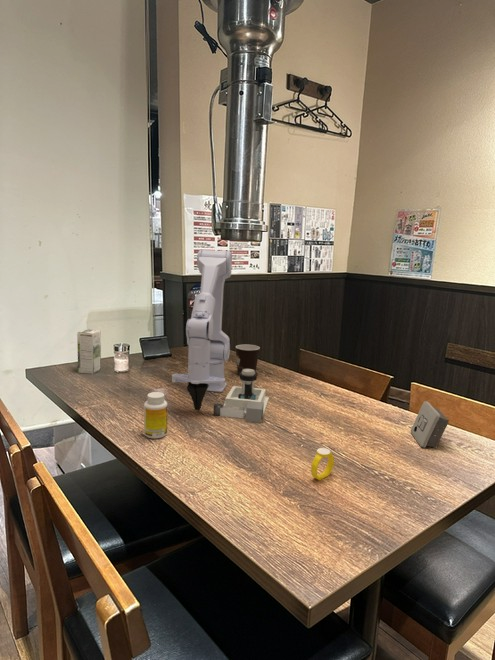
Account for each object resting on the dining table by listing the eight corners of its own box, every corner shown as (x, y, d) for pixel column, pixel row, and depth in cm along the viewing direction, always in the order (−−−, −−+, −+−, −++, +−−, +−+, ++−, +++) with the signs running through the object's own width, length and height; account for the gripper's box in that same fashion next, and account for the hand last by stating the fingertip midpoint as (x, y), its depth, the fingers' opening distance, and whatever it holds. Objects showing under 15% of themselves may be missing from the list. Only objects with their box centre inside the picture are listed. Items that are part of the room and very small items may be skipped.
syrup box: (86, 368, 155) (84, 328, 152) (101, 369, 154) (100, 329, 151) (77, 373, 149) (76, 331, 146) (93, 374, 148) (92, 333, 145)
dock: (216, 418, 117) (216, 404, 116) (230, 394, 135) (230, 383, 134) (260, 423, 115) (261, 409, 114) (268, 398, 133) (269, 386, 132)
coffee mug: (258, 378, 152) (259, 350, 150) (234, 377, 152) (235, 349, 150) (258, 368, 164) (259, 343, 162) (235, 367, 164) (236, 342, 162)
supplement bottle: (170, 437, 104) (170, 397, 102) (147, 441, 102) (146, 399, 100) (163, 428, 109) (164, 389, 107) (141, 431, 107) (141, 392, 105)
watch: (318, 485, 87) (319, 459, 86) (307, 480, 89) (308, 454, 88) (336, 474, 91) (337, 448, 90) (325, 468, 93) (326, 443, 92)
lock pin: (212, 415, 118) (212, 406, 118) (214, 412, 121) (214, 403, 120) (242, 419, 117) (243, 410, 116) (244, 415, 120) (244, 406, 119)
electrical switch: (409, 432, 114) (417, 399, 112) (429, 435, 114) (437, 402, 112) (421, 449, 105) (430, 413, 103) (442, 452, 104) (451, 416, 102)
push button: (255, 398, 131) (256, 366, 129) (263, 404, 127) (265, 371, 125) (235, 401, 128) (236, 368, 126) (242, 407, 124) (243, 373, 122)
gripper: (168, 363, 115) (167, 411, 117) (221, 368, 112) (220, 417, 115) (176, 356, 121) (176, 402, 124) (227, 360, 119) (225, 407, 122)
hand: (197, 408), depth 120 cm, fingers closed
